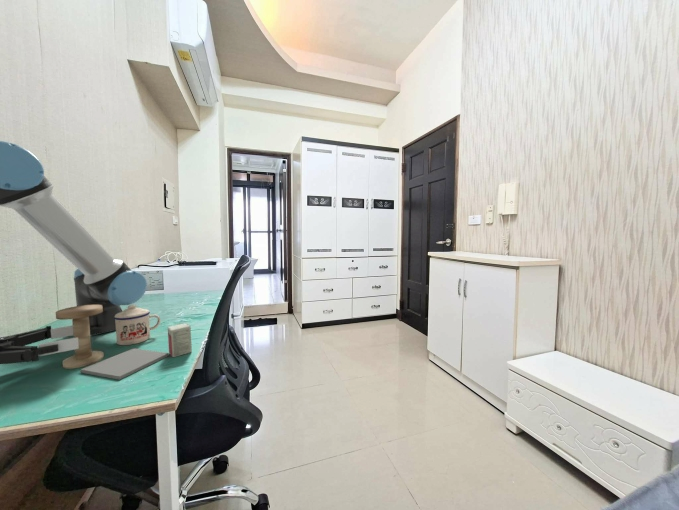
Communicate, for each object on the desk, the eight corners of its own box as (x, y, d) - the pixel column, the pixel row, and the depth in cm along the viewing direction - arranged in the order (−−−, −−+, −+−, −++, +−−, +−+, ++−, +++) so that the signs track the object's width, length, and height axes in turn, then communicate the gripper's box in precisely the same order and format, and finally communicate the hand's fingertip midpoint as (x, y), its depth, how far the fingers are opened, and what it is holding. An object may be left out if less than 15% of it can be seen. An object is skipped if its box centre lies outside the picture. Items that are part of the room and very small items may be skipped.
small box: (187, 348, 80) (186, 322, 80) (192, 352, 77) (190, 325, 77) (168, 353, 77) (167, 326, 76) (172, 358, 74) (170, 330, 73)
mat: (133, 350, 79) (133, 348, 79) (168, 355, 75) (168, 353, 75) (80, 372, 66) (80, 369, 66) (119, 379, 63) (119, 376, 63)
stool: (91, 352, 78) (87, 303, 77) (114, 356, 75) (110, 305, 74) (51, 367, 69) (46, 312, 68) (75, 371, 67) (70, 314, 66)
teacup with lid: (117, 348, 80) (114, 310, 80) (114, 340, 87) (112, 305, 86) (163, 338, 89) (161, 303, 88) (158, 331, 95) (156, 299, 94)
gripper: (-28, 355, 68) (87, 335, 81) (-86, 402, 49) (76, 366, 62) (-31, 326, 67) (85, 311, 81) (-91, 362, 48) (73, 334, 62)
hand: (81, 335), depth 71 cm, fingers open, 13 cm apart
